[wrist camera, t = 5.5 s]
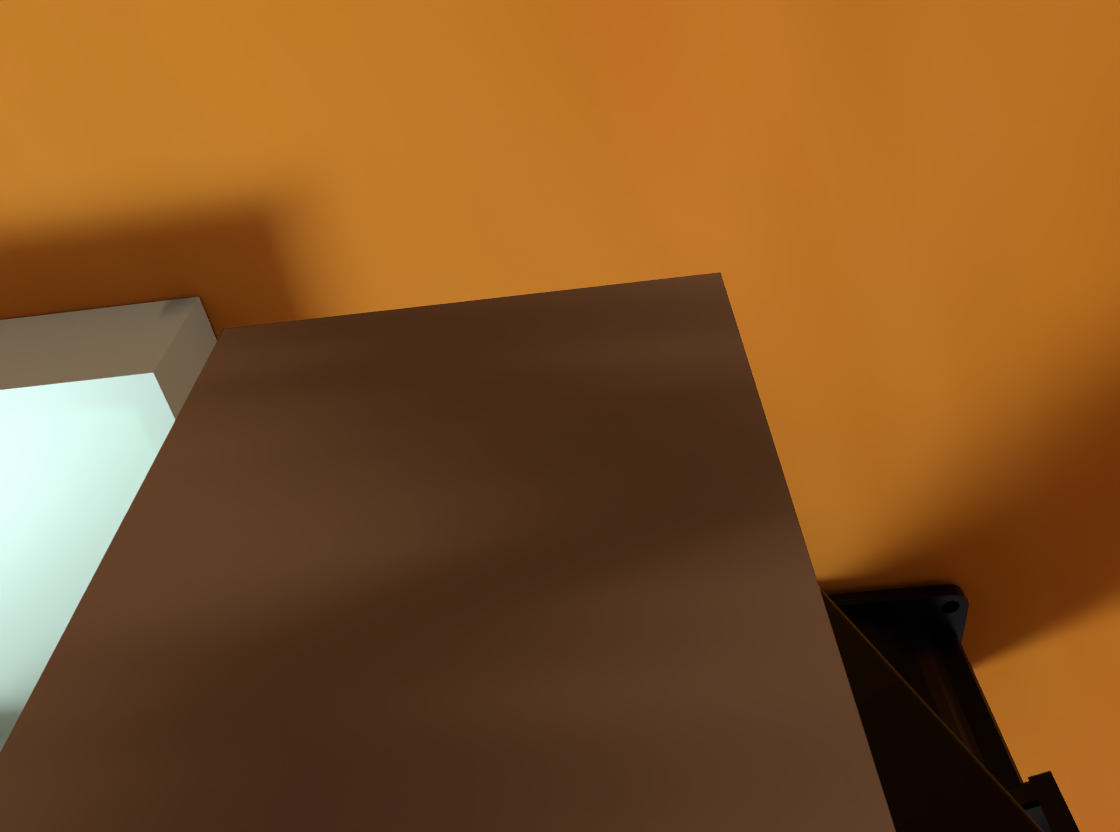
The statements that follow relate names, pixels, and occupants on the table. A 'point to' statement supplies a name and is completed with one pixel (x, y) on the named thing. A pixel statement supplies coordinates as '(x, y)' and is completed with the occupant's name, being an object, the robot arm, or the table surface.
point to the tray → (78, 457)
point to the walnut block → (457, 592)
